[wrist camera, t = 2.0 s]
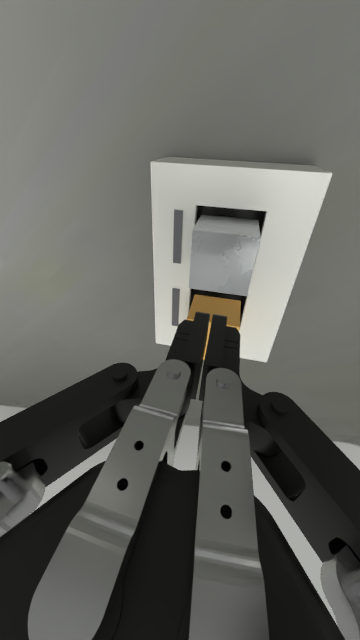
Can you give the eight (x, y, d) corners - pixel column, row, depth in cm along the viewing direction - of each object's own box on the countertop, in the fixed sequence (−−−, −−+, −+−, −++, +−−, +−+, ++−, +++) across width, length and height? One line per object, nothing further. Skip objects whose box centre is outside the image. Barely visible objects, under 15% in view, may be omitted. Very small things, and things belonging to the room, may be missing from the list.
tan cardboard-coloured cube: (194, 294, 26) (186, 318, 23) (240, 300, 26) (239, 327, 22) (191, 329, 29) (184, 356, 26) (233, 336, 29) (231, 364, 25)
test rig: (168, 156, 25) (149, 161, 20) (315, 165, 23) (333, 173, 18) (167, 316, 37) (155, 344, 32) (263, 331, 35) (266, 363, 30)
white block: (201, 214, 22) (192, 230, 18) (258, 219, 21) (260, 237, 17) (197, 266, 24) (188, 288, 21) (246, 272, 24) (247, 296, 20)
